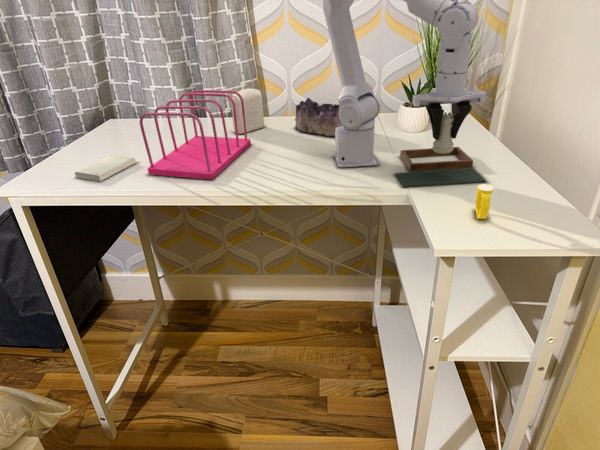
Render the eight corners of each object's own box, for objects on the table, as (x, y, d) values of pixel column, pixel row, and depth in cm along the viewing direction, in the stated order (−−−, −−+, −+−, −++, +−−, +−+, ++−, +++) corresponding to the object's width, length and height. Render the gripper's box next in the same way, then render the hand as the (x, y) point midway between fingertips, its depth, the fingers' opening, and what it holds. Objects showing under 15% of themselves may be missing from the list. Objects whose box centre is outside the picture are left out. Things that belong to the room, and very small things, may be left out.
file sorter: (148, 175, 106) (132, 111, 98) (196, 141, 127) (187, 87, 119) (212, 180, 101) (201, 114, 94) (251, 144, 122) (245, 87, 114)
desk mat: (403, 187, 93) (403, 185, 93) (395, 174, 99) (395, 173, 99) (485, 182, 93) (485, 180, 93) (472, 169, 100) (473, 168, 99)
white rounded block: (258, 124, 139) (254, 85, 132) (266, 127, 136) (263, 87, 130) (232, 132, 132) (227, 91, 126) (240, 135, 130) (235, 93, 124)
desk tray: (410, 171, 100) (410, 164, 99) (400, 156, 109) (400, 150, 108) (472, 167, 101) (473, 160, 100) (457, 153, 109) (458, 146, 108)
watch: (470, 207, 84) (475, 179, 81) (485, 208, 83) (491, 180, 80) (474, 223, 79) (479, 193, 76) (490, 224, 78) (496, 194, 75)
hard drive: (99, 175, 103) (134, 157, 113) (74, 171, 106) (111, 154, 116) (100, 182, 104) (136, 163, 114) (76, 178, 107) (112, 159, 117)
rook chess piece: (454, 154, 91) (459, 117, 87) (432, 153, 92) (436, 116, 88) (452, 147, 95) (457, 111, 91) (431, 146, 96) (435, 110, 92)
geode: (285, 134, 128) (284, 100, 125) (302, 128, 138) (302, 96, 134) (350, 139, 120) (350, 101, 116) (363, 132, 129) (364, 97, 126)
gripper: (421, 77, 82) (415, 145, 89) (497, 73, 82) (485, 141, 89) (411, 70, 88) (406, 135, 95) (481, 66, 88) (471, 131, 95)
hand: (443, 137), depth 92 cm, fingers closed on rook chess piece, 3 cm apart
